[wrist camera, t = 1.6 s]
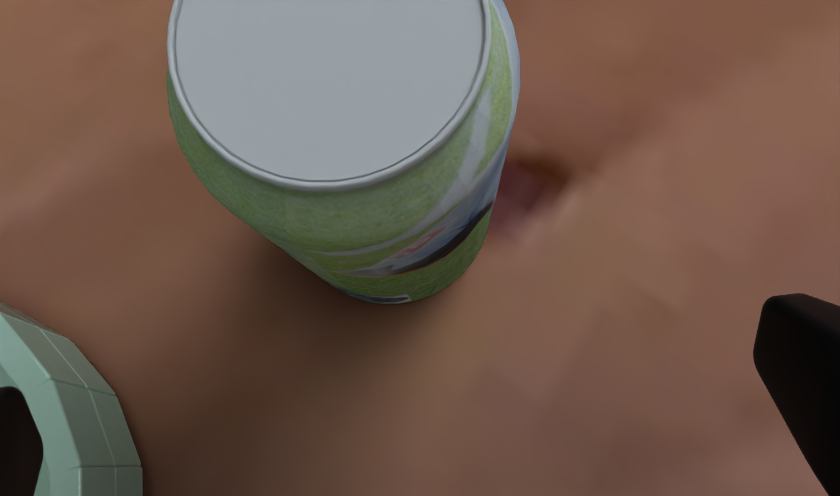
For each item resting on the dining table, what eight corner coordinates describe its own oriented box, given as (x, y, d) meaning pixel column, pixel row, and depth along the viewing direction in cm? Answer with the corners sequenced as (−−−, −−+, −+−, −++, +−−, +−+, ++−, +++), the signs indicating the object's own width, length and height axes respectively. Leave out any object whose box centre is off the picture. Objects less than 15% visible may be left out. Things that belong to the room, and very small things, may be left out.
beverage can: (514, 181, 22) (648, -119, 11) (414, 384, 20) (449, 279, 9) (344, 102, 23) (300, -262, 11) (230, 291, 21) (34, 77, 9)
